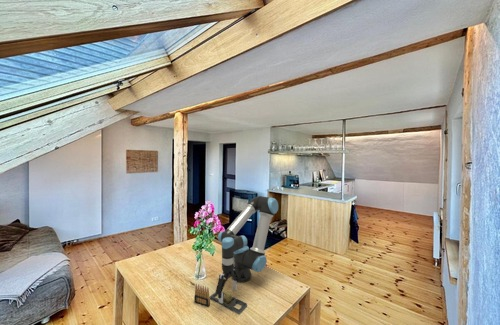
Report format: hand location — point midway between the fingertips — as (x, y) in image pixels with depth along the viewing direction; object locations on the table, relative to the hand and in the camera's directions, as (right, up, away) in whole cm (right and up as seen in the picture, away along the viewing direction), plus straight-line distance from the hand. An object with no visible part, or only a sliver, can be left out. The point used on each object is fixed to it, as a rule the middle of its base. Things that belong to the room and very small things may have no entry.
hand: (228, 296), depth 129 cm
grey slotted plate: (0, -4, 0) cm, 4 cm away
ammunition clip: (-16, -5, -1) cm, 17 cm away
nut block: (0, -4, 0) cm, 4 cm away
